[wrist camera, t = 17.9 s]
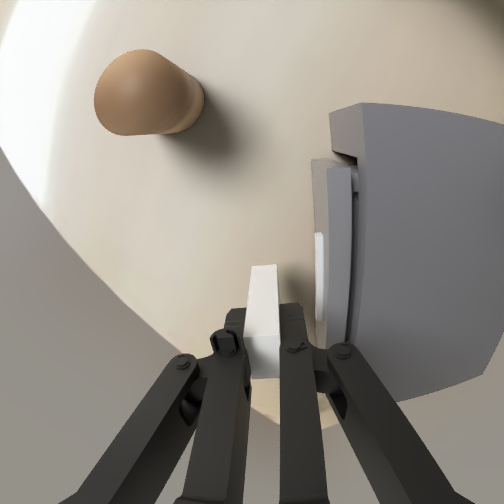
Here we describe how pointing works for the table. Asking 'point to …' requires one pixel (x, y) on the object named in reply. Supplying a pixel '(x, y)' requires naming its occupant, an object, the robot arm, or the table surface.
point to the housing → (425, 243)
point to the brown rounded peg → (147, 95)
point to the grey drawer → (335, 249)
